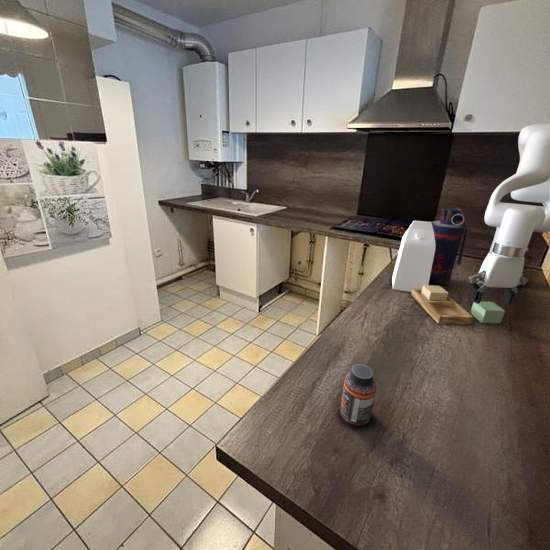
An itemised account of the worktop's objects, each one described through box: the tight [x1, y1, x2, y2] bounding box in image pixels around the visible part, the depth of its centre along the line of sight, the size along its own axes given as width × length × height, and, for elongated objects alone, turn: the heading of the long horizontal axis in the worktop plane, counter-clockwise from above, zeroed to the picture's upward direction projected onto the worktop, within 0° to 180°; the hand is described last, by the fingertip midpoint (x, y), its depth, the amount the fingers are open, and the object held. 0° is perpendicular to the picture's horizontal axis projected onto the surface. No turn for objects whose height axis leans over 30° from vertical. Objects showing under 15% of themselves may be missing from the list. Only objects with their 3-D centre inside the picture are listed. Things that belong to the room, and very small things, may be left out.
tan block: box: [421, 284, 449, 301], centre depth 103 cm, size 6×6×4 cm
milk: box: [391, 220, 436, 293], centre depth 111 cm, size 12×12×26 cm
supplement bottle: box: [339, 363, 377, 427], centre depth 56 cm, size 6×6×11 cm
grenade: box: [429, 206, 470, 286], centre depth 116 cm, size 14×12×30 cm
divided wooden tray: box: [410, 289, 475, 325], centre depth 99 cm, size 10×20×3 cm, turn 0°
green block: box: [469, 301, 506, 324], centre depth 94 cm, size 6×6×4 cm
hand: (490, 302), depth 92 cm, fingers open, 9 cm apart
